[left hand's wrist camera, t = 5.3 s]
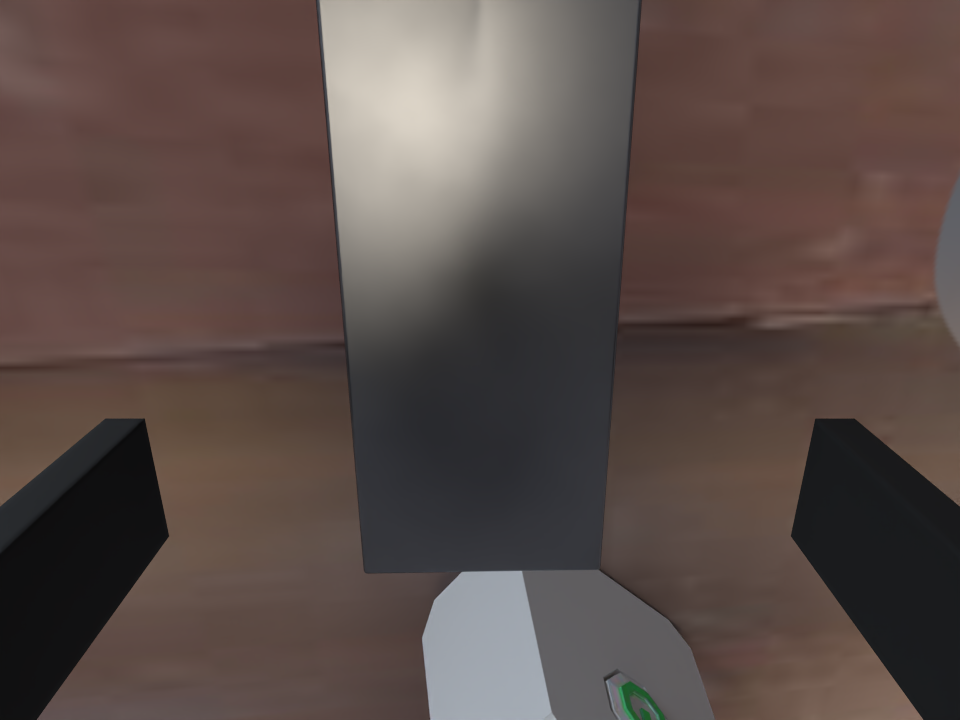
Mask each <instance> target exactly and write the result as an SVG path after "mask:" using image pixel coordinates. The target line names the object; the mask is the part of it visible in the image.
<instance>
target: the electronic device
mask: <svg viewBox="0 0 960 720" xmlns="http://www.w3.org/2000/svg"><path fill="white" fill-rule="evenodd" d="M422 643H423V652H424V662H425V672H426V681H427V691H428V701H429V710H430V720H715V718H714V715H713V712H712V709H711V706H710V703H709V700H708V697H707V694H706V691H705V688H704V686H703V683H702V680H701V677H700V674H699V671H698V668H697V665H696V662H695V659H694V656H693V653H692V650H691V648H690V647H689V646H688V644H687V643H686V642H685V640H684V639H683V638H682V637H681V635H680V634H679V633H678V631H677V630H676V629H675V628H674V626H673V625H672V624H671V622H670V621H669V620H668V619H667V618H665V617H664V616H662V615H661V614H660V613H658V612H657V611H655V610H654V609H653V608H651V607H650V606H648V605H647V604H645V603H644V602H643V601H641V600H640V599H638V598H637V597H636V596H634V595H633V594H631V593H630V592H629V591H627V590H626V589H624V588H623V587H622V586H620V585H619V584H617V583H616V582H615V581H613V580H612V579H610V578H609V577H608V576H606V575H605V574H603V573H602V572H601V571H599V570H554V571H489V572H462V573H461V574H460V575H459V576H458V577H457V578H456V579H455V580H454V581H453V582H452V583H451V584H450V585H449V586H448V587H447V588H446V589H445V590H444V591H443V592H442V593H441V594H440V595H439V596H438V597H437V598H436V599H435V600H434V603H433V606H432V609H431V612H430V615H429V618H428V621H427V624H426V627H425V630H424V634H423V637H422Z"/></svg>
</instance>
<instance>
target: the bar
mask: <svg viewBox="0 0 960 720" xmlns="http://www.w3.org/2000/svg"><path fill="white" fill-rule="evenodd" d="M641 4H642V0H316V7H317V19H318V31H319V43H320V55H321V67H322V78H323V90H324V102H325V114H326V126H327V138H328V150H329V162H330V174H331V186H332V197H333V209H334V221H335V233H336V245H337V257H338V269H339V281H340V293H341V304H342V316H343V328H344V340H345V352H346V364H347V376H348V388H349V400H350V412H351V423H352V435H353V447H354V459H355V471H356V483H357V495H358V507H359V519H360V531H361V542H362V554H363V566H364V571H365V573H424V572H489V571H554V570H598V569H599V568H600V563H601V549H602V535H603V522H604V508H605V495H606V481H607V467H608V454H609V440H610V426H611V413H612V399H613V386H614V372H615V358H616V345H617V331H618V318H619V304H620V290H621V277H622V263H623V249H624V236H625V222H626V209H627V195H628V181H629V168H630V154H631V140H632V127H633V113H634V100H635V86H636V72H637V59H638V45H639V31H640V18H641Z"/></svg>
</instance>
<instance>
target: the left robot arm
mask: <svg viewBox="0 0 960 720" xmlns="http://www.w3.org/2000/svg"><path fill="white" fill-rule="evenodd" d="M168 537H169V534H168V529H167V524H166V519H165V514H164V509H163V505H162V500H161V495H160V490H159V485H158V481H157V476H156V471H155V466H154V461H153V457H152V452H151V447H150V442H149V437H148V433H147V428H146V423H145V419H105V420H103V421H102V422H101V423H100V424H99V425H97V426H96V427H95V428H94V429H93V430H91V431H90V432H89V433H88V434H87V435H85V436H84V437H83V438H82V439H81V440H79V441H78V442H77V443H76V444H75V445H73V446H72V447H71V448H70V449H69V450H67V451H66V452H65V453H64V454H63V455H61V456H60V457H59V458H58V459H57V460H56V461H54V462H53V463H52V464H51V465H50V466H48V467H47V468H46V469H45V470H44V471H42V472H41V473H40V474H39V475H38V476H36V477H35V478H34V479H33V480H32V481H30V482H29V483H28V484H27V485H26V486H24V487H23V488H22V489H21V490H20V491H18V492H17V493H16V494H15V495H14V496H12V497H11V498H10V499H9V500H8V501H6V502H5V503H4V504H3V505H2V506H0V720H37V718H38V717H39V716H40V714H41V713H42V711H43V710H44V709H45V707H46V706H47V704H48V703H49V702H50V700H51V699H52V698H53V696H54V695H55V693H56V692H57V691H58V689H59V688H60V686H61V685H62V684H63V682H64V681H65V680H66V678H67V677H68V675H69V674H70V673H71V671H72V670H73V668H74V667H75V666H76V664H77V663H78V662H79V660H80V659H81V657H82V656H83V655H84V653H85V652H86V650H87V649H88V648H89V646H90V645H91V644H92V642H93V641H94V639H95V638H96V637H97V635H98V634H99V632H100V631H101V630H102V628H103V627H104V626H105V624H106V623H107V621H108V620H109V619H110V617H111V616H112V614H113V613H114V612H115V610H116V609H117V608H118V606H119V605H120V603H121V602H122V601H123V599H124V598H125V596H126V595H127V594H128V592H129V591H130V590H131V588H132V587H133V585H134V584H135V583H136V581H137V580H138V578H139V577H140V576H141V574H142V573H143V572H144V570H145V569H146V567H147V566H148V565H149V563H150V562H151V560H152V559H153V558H154V556H155V555H156V554H157V552H158V551H159V549H160V548H161V547H162V545H163V544H164V542H165V541H166V540H167V538H168ZM791 537H792V538H793V540H794V541H795V542H796V544H797V545H798V547H799V548H800V549H801V551H802V552H803V554H804V555H805V556H806V558H807V559H808V560H809V562H810V563H811V565H812V566H813V567H814V569H815V570H816V572H817V573H818V574H819V576H820V577H821V578H822V580H823V581H824V583H825V584H826V585H827V587H828V588H829V590H830V591H831V592H832V594H833V595H834V596H835V598H836V599H837V601H838V602H839V603H840V605H841V606H842V608H843V609H844V610H845V612H846V613H847V614H848V616H849V617H850V619H851V620H852V621H853V623H854V624H855V626H856V627H857V628H858V630H859V631H860V632H861V634H862V635H863V637H864V638H865V639H866V641H867V642H868V644H869V645H870V646H871V648H872V649H873V650H874V652H875V653H876V655H877V656H878V657H879V659H880V660H881V662H882V663H883V664H884V666H885V667H886V668H887V670H888V671H889V673H890V674H891V675H892V677H893V678H894V680H895V681H896V682H897V684H898V685H899V686H900V688H901V689H902V691H903V692H904V693H905V695H906V696H907V698H908V699H909V700H910V702H911V703H912V704H913V706H914V707H915V709H916V710H917V711H918V713H919V714H920V716H921V717H922V718H923V720H960V506H958V505H957V504H956V503H955V502H954V501H952V500H951V499H950V498H949V497H948V496H946V495H945V494H944V493H943V492H942V491H940V490H939V489H938V488H937V487H936V486H934V485H933V484H932V483H931V482H930V481H928V480H927V479H926V478H925V477H924V476H922V475H921V474H920V473H919V472H918V471H916V470H915V469H914V468H913V467H912V466H910V465H909V464H908V463H907V462H906V461H904V460H903V459H902V458H901V457H900V456H899V455H897V454H896V453H895V452H894V451H893V450H891V449H890V448H889V447H888V446H887V445H885V444H884V443H883V442H882V441H881V440H879V439H878V438H877V437H876V436H875V435H873V434H872V433H871V432H870V431H869V430H867V429H866V428H865V427H864V426H863V425H861V424H860V423H859V422H858V421H857V420H855V419H815V423H814V428H813V433H812V437H811V442H810V447H809V452H808V457H807V461H806V466H805V471H804V476H803V481H802V485H801V490H800V495H799V500H798V505H797V509H796V514H795V519H794V524H793V529H792V534H791Z"/></svg>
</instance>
